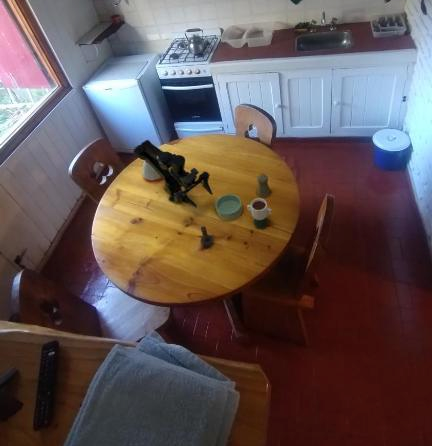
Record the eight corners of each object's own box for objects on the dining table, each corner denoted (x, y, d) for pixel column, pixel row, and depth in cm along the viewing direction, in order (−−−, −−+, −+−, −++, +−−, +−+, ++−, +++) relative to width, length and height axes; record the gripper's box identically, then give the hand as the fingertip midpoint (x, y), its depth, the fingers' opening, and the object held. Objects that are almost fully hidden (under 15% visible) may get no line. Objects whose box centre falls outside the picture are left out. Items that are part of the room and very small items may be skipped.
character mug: (274, 219, 156) (273, 200, 148) (271, 232, 151) (269, 213, 143) (251, 215, 160) (248, 196, 152) (247, 227, 155) (244, 208, 147)
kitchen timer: (173, 169, 194) (166, 148, 185) (157, 185, 186) (149, 164, 177) (154, 162, 201) (147, 142, 192) (138, 178, 193) (130, 157, 184)
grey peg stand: (199, 245, 152) (195, 231, 145) (205, 236, 155) (201, 222, 149) (209, 249, 149) (205, 234, 143) (215, 239, 153) (211, 225, 146)
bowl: (212, 216, 163) (210, 209, 161) (224, 197, 171) (222, 191, 168) (235, 223, 158) (234, 217, 155) (246, 204, 166) (245, 198, 163)
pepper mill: (256, 189, 172) (254, 173, 165) (268, 187, 172) (267, 171, 165) (259, 198, 167) (257, 182, 161) (271, 195, 167) (269, 179, 160)
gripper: (165, 179, 145) (190, 206, 140) (198, 155, 154) (222, 180, 149) (165, 191, 154) (188, 216, 149) (196, 168, 163) (219, 191, 158)
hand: (204, 200), depth 151 cm, fingers open, 9 cm apart
